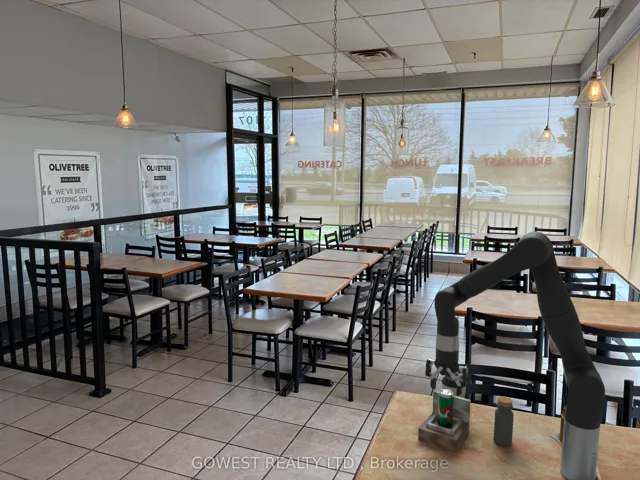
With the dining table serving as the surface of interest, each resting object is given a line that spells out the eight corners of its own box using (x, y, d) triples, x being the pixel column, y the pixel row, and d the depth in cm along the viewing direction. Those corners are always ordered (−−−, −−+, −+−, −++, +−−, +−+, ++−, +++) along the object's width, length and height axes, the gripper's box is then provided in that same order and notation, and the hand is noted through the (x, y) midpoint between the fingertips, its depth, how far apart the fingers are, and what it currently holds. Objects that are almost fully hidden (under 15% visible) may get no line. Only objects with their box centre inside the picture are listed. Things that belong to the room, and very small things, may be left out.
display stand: (469, 432, 164) (470, 400, 163) (455, 451, 153) (457, 417, 151) (433, 421, 172) (434, 390, 170) (418, 439, 160) (419, 405, 159)
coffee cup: (439, 418, 174) (441, 379, 172) (440, 406, 182) (442, 369, 180) (465, 422, 171) (467, 383, 169) (465, 410, 180) (466, 372, 178)
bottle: (513, 447, 156) (516, 404, 153) (494, 445, 157) (497, 402, 155) (510, 437, 161) (512, 396, 159) (492, 435, 162) (494, 394, 160)
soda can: (455, 424, 162) (456, 391, 160) (448, 430, 158) (450, 397, 156) (441, 419, 165) (442, 387, 163) (434, 425, 161) (436, 392, 160)
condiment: (568, 449, 154) (571, 415, 153) (549, 435, 162) (551, 403, 161) (586, 445, 157) (589, 411, 155) (566, 432, 165) (569, 400, 163)
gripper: (422, 345, 159) (421, 391, 161) (464, 354, 151) (463, 402, 153) (431, 339, 165) (430, 383, 167) (472, 347, 157) (470, 393, 159)
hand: (446, 392), depth 160 cm, fingers open, 8 cm apart
